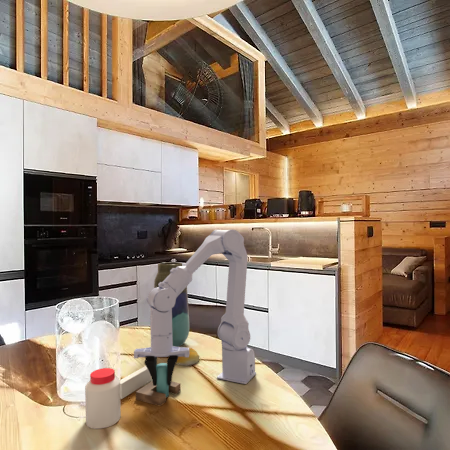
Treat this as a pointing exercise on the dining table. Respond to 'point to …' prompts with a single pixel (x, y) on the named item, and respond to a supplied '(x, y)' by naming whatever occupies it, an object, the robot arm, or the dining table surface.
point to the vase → (176, 306)
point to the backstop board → (134, 381)
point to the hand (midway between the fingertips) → (162, 383)
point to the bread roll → (188, 358)
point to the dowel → (162, 378)
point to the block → (156, 393)
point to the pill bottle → (102, 399)
